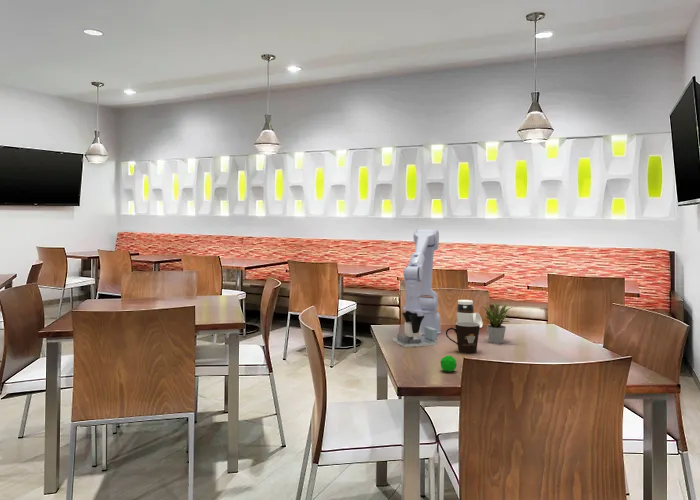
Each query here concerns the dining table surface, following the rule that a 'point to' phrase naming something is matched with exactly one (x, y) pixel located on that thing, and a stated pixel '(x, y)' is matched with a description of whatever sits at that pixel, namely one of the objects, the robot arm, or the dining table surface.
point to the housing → (409, 330)
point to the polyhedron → (448, 363)
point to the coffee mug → (466, 336)
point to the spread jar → (467, 312)
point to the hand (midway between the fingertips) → (412, 331)
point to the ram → (430, 333)
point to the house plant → (496, 324)
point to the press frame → (413, 341)
